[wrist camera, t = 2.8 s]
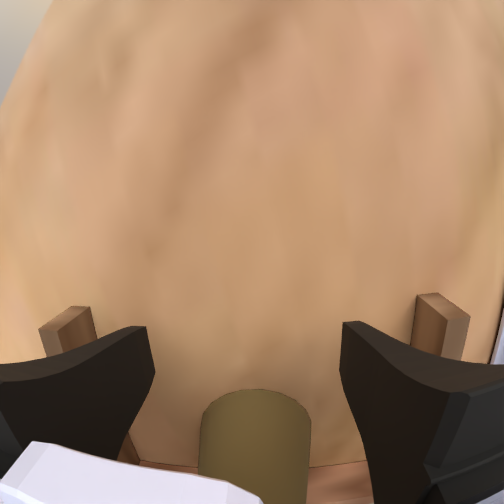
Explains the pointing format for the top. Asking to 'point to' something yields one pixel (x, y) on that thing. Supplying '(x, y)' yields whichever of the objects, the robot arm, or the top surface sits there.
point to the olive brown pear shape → (258, 445)
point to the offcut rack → (319, 478)
